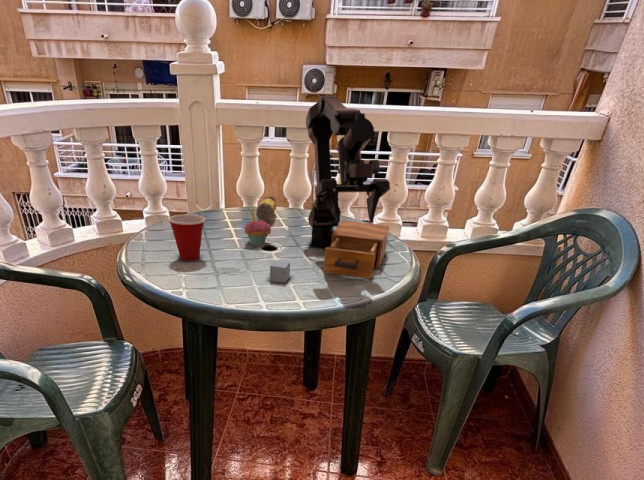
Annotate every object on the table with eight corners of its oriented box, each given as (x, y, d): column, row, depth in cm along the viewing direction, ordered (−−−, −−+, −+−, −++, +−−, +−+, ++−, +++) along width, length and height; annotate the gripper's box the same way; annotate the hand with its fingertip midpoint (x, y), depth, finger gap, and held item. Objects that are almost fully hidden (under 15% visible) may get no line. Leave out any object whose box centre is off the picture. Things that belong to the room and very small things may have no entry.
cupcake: (251, 249, 155) (251, 210, 147) (240, 241, 161) (239, 203, 153) (275, 244, 158) (276, 206, 151) (263, 237, 164) (263, 199, 157)
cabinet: (378, 269, 142) (382, 240, 137) (329, 262, 146) (332, 234, 141) (385, 253, 152) (389, 225, 147) (339, 247, 156) (342, 220, 151)
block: (269, 280, 135) (270, 265, 133) (274, 275, 139) (275, 260, 136) (284, 283, 134) (285, 267, 131) (289, 277, 137) (290, 262, 135)
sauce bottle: (275, 209, 171) (281, 197, 187) (259, 201, 170) (267, 189, 186) (268, 226, 175) (274, 212, 191) (252, 218, 174) (260, 204, 190)
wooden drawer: (368, 284, 131) (371, 260, 127) (319, 277, 135) (321, 253, 131) (378, 262, 144) (381, 239, 140) (333, 256, 147) (336, 234, 143)
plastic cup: (214, 254, 151) (212, 214, 144) (196, 266, 143) (192, 225, 136) (184, 248, 155) (181, 210, 148) (165, 260, 147) (160, 219, 140)
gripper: (326, 145, 116) (332, 211, 116) (398, 146, 120) (403, 210, 120) (311, 166, 126) (317, 226, 127) (377, 166, 130) (382, 225, 131)
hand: (355, 222), depth 126 cm, fingers open, 9 cm apart
